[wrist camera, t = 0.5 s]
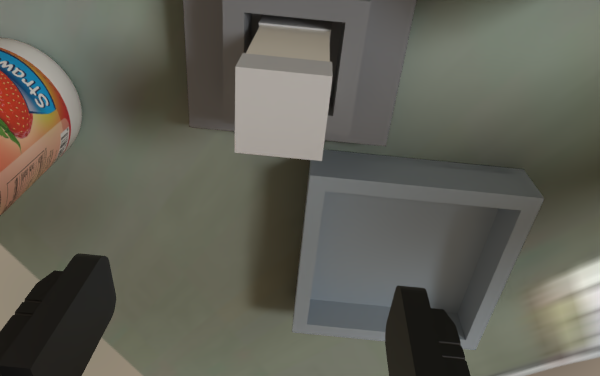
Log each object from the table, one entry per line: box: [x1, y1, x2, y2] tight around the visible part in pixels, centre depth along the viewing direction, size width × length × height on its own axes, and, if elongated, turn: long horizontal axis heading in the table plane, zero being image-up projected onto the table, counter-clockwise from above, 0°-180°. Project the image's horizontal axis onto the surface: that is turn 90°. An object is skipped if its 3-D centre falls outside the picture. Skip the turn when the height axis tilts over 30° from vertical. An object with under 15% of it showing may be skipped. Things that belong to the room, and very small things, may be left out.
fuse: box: [235, 15, 333, 161], centre depth 25 cm, size 4×4×10 cm
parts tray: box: [292, 150, 544, 350], centre depth 38 cm, size 16×16×4 cm
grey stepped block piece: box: [183, 0, 417, 146], centre depth 29 cm, size 14×12×5 cm
